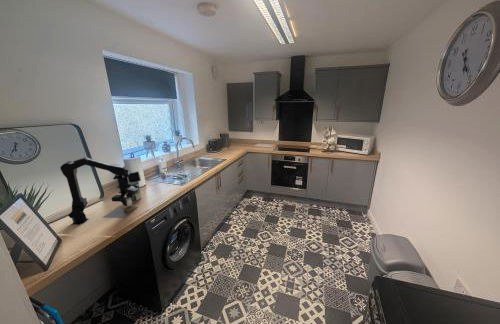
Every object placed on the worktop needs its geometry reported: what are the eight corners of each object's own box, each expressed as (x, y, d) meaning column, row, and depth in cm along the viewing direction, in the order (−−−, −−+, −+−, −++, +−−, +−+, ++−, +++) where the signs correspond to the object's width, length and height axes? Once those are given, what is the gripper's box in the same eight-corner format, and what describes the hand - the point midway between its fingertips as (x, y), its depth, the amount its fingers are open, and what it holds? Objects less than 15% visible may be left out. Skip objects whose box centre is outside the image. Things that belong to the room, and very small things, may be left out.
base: (121, 212, 130) (120, 209, 129) (128, 207, 137) (128, 203, 136) (131, 212, 129) (130, 209, 129) (137, 207, 136) (137, 204, 135)
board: (102, 218, 125) (102, 217, 125) (118, 207, 138) (118, 206, 138) (125, 218, 123) (125, 217, 123) (139, 207, 137) (138, 206, 136)
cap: (123, 206, 130) (121, 198, 128) (128, 203, 134) (126, 195, 132) (129, 206, 130) (127, 198, 128) (133, 203, 134) (132, 195, 132)
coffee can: (129, 204, 142) (125, 186, 138) (125, 199, 149) (121, 183, 145) (144, 199, 149) (140, 182, 145) (139, 195, 156) (136, 179, 152)
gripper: (124, 189, 118) (130, 211, 122) (143, 178, 135) (147, 198, 140) (108, 189, 119) (114, 211, 123) (128, 178, 136) (133, 197, 141)
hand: (128, 204), depth 132 cm, fingers closed on cap, 4 cm apart
